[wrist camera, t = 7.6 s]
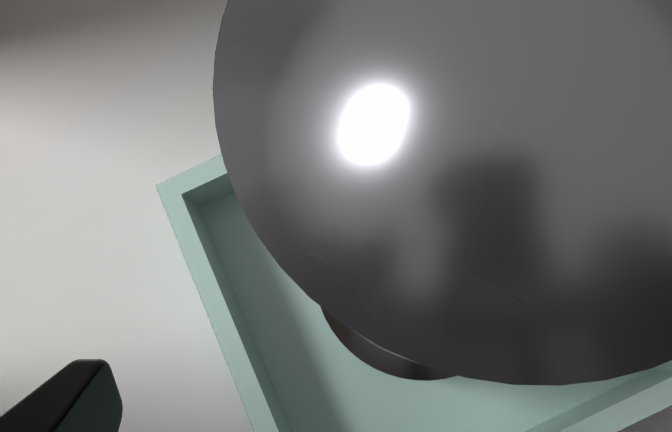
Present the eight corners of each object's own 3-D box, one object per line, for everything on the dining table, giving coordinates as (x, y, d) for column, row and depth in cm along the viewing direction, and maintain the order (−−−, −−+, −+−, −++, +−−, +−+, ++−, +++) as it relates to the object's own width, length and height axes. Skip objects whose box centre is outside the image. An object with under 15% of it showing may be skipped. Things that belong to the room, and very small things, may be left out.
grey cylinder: (538, 277, 15) (1093, 17, 3) (423, 413, 14) (596, 679, 3) (404, 168, 16) (463, -345, 4) (292, 292, 15) (1, 106, 4)
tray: (672, 378, 15) (717, 382, 13) (322, 547, 14) (313, 578, 12) (488, 61, 17) (502, 24, 15) (181, 204, 17) (155, 185, 15)
